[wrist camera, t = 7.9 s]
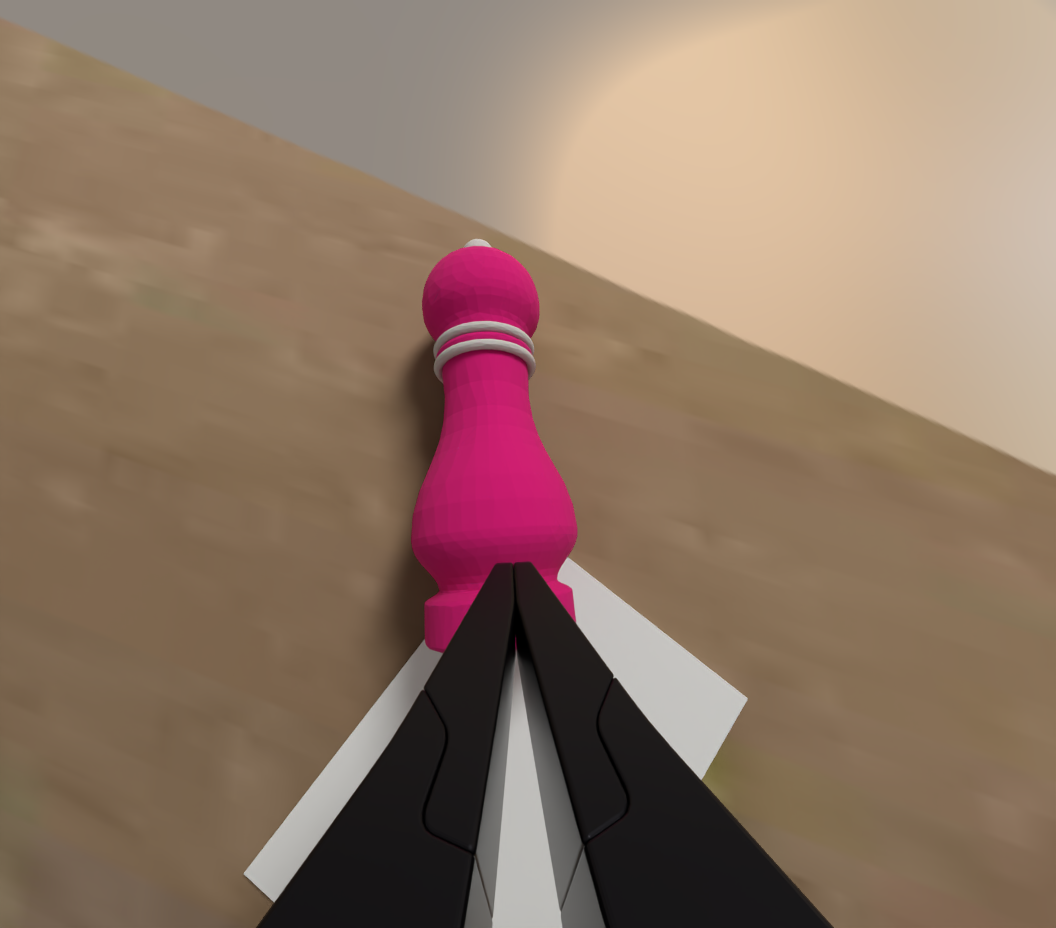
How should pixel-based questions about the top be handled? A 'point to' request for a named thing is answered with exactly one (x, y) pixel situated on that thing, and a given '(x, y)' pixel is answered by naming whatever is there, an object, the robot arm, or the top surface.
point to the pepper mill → (486, 441)
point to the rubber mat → (524, 749)
